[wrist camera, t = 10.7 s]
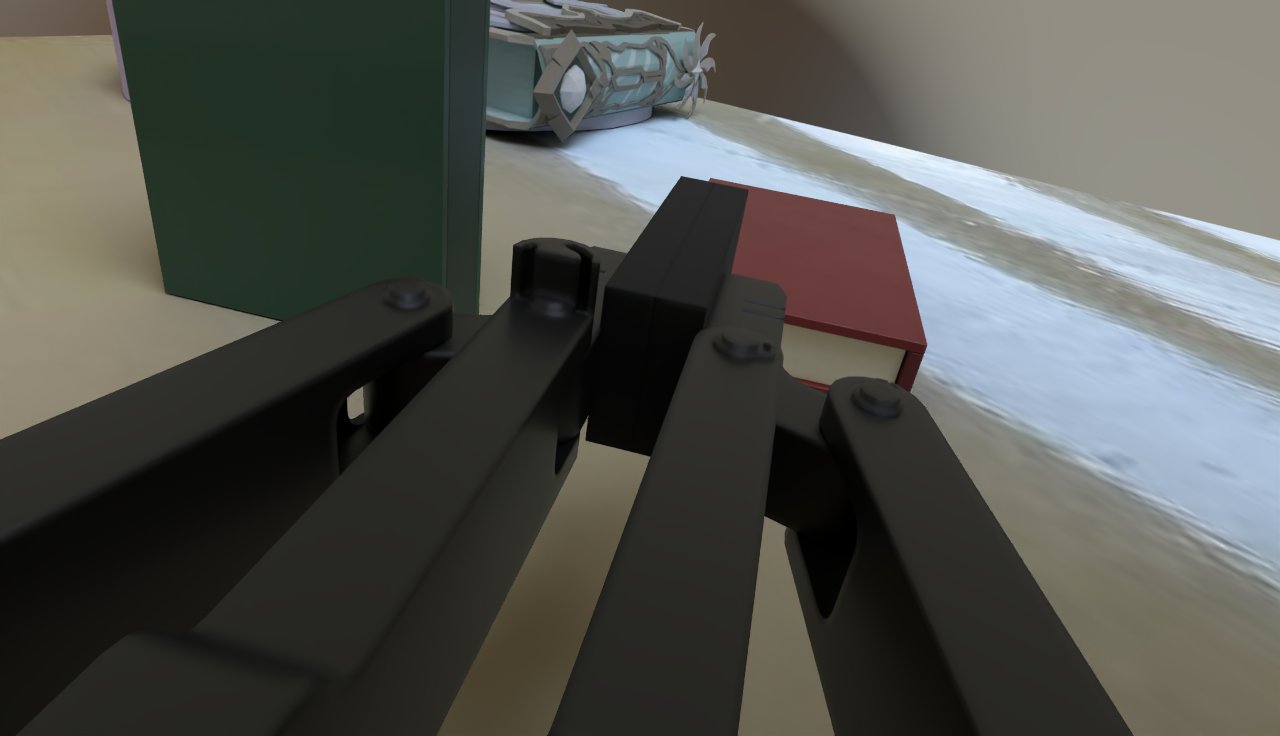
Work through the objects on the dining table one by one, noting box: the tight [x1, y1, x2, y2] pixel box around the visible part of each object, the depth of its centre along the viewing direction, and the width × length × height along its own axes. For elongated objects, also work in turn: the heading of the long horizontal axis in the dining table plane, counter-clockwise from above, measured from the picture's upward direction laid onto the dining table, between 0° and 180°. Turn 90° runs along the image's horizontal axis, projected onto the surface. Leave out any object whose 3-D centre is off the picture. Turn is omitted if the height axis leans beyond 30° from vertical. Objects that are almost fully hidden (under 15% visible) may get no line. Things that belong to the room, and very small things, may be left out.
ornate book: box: [486, 0, 716, 143], centre depth 64 cm, size 23×10×30 cm
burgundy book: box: [709, 178, 927, 394], centre depth 35 cm, size 3×10×16 cm
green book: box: [112, 0, 490, 321], centre depth 25 cm, size 3×11×17 cm, turn 78°
